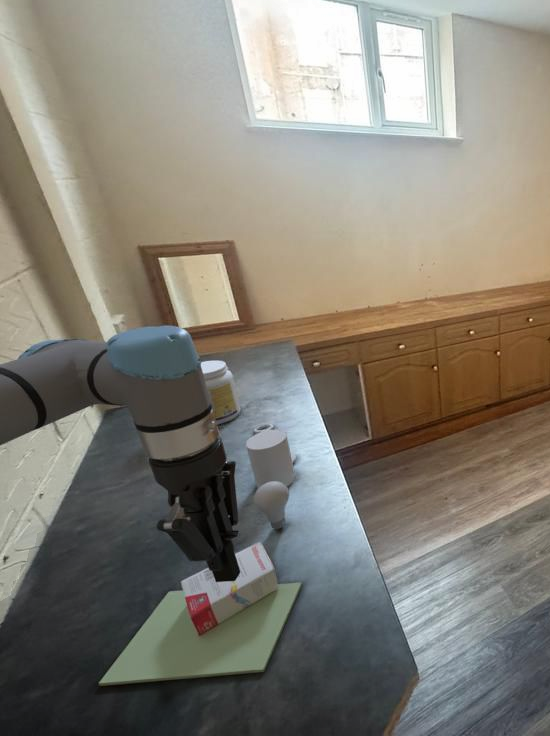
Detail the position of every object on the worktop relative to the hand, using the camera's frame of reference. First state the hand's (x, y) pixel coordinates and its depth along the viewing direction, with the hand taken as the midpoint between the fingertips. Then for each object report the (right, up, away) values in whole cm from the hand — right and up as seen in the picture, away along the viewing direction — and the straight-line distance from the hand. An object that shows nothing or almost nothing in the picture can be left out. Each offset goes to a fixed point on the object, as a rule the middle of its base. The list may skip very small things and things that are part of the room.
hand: (228, 577), depth 60 cm
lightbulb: (-6, -3, +23) cm, 24 cm away
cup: (-14, +2, +36) cm, 39 cm away
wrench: (-23, +8, +50) cm, 55 cm away
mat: (-5, -10, +4) cm, 12 cm away
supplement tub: (-48, +14, +63) cm, 81 cm away
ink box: (-9, -7, +3) cm, 12 cm away
